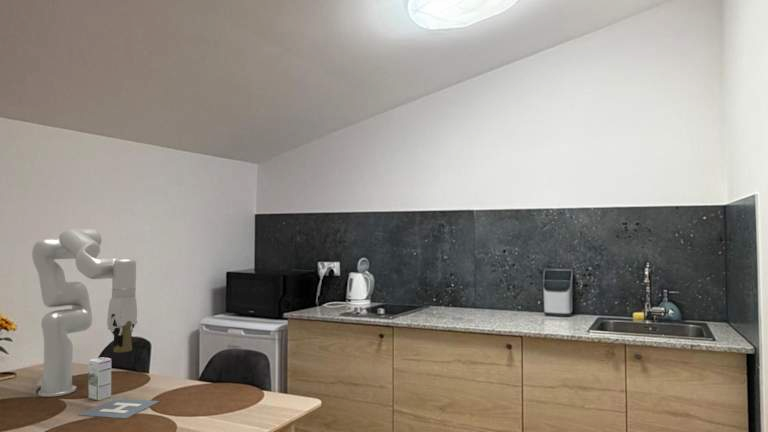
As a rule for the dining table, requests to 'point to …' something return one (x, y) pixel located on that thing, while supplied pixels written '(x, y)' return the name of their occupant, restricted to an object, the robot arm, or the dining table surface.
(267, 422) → the dining table surface
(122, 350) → the cork
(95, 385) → the syrup box
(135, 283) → the robot arm
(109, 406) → the letter sheet
